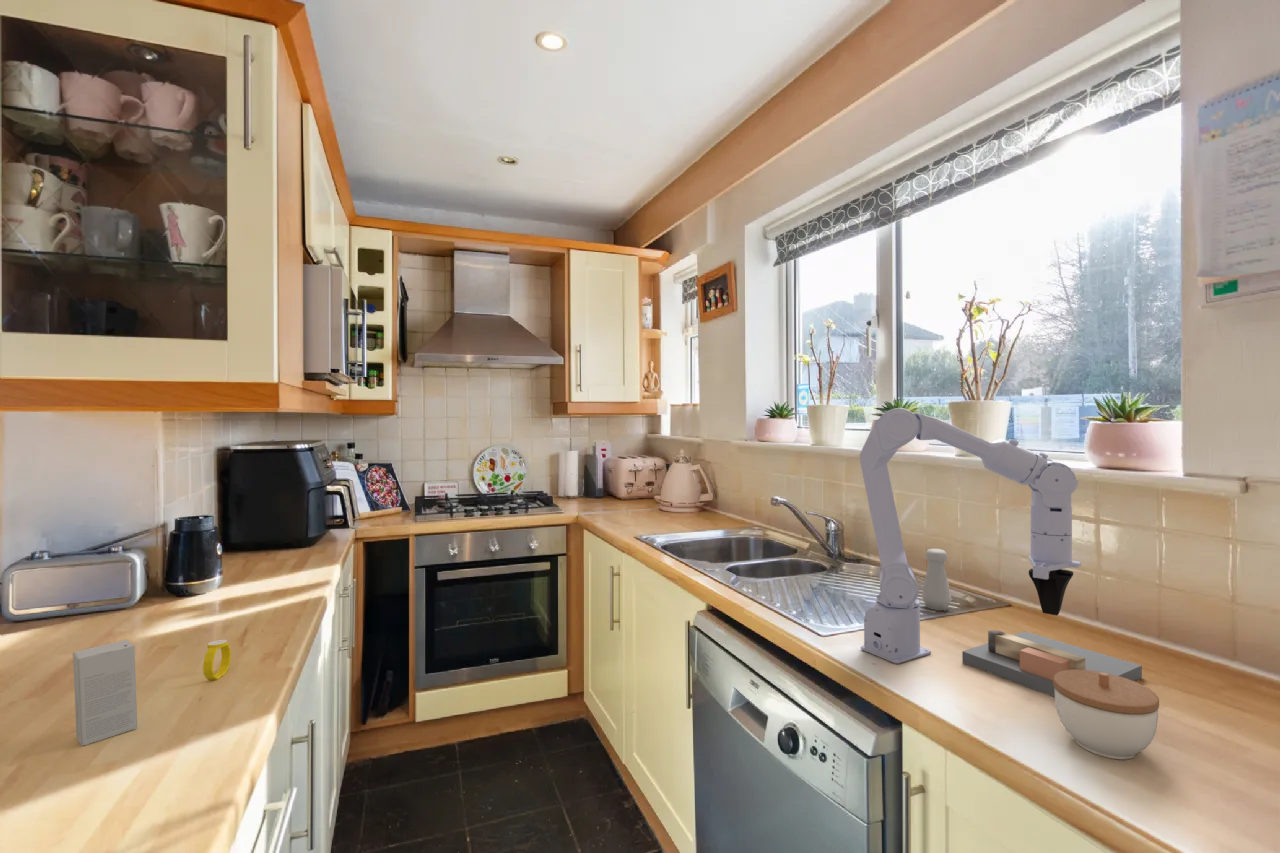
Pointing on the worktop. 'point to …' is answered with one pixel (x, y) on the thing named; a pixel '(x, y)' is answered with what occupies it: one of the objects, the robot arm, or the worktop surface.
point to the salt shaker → (936, 581)
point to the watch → (209, 659)
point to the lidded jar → (1106, 712)
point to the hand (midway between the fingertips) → (1050, 613)
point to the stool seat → (1045, 663)
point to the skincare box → (105, 691)
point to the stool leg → (1014, 644)
